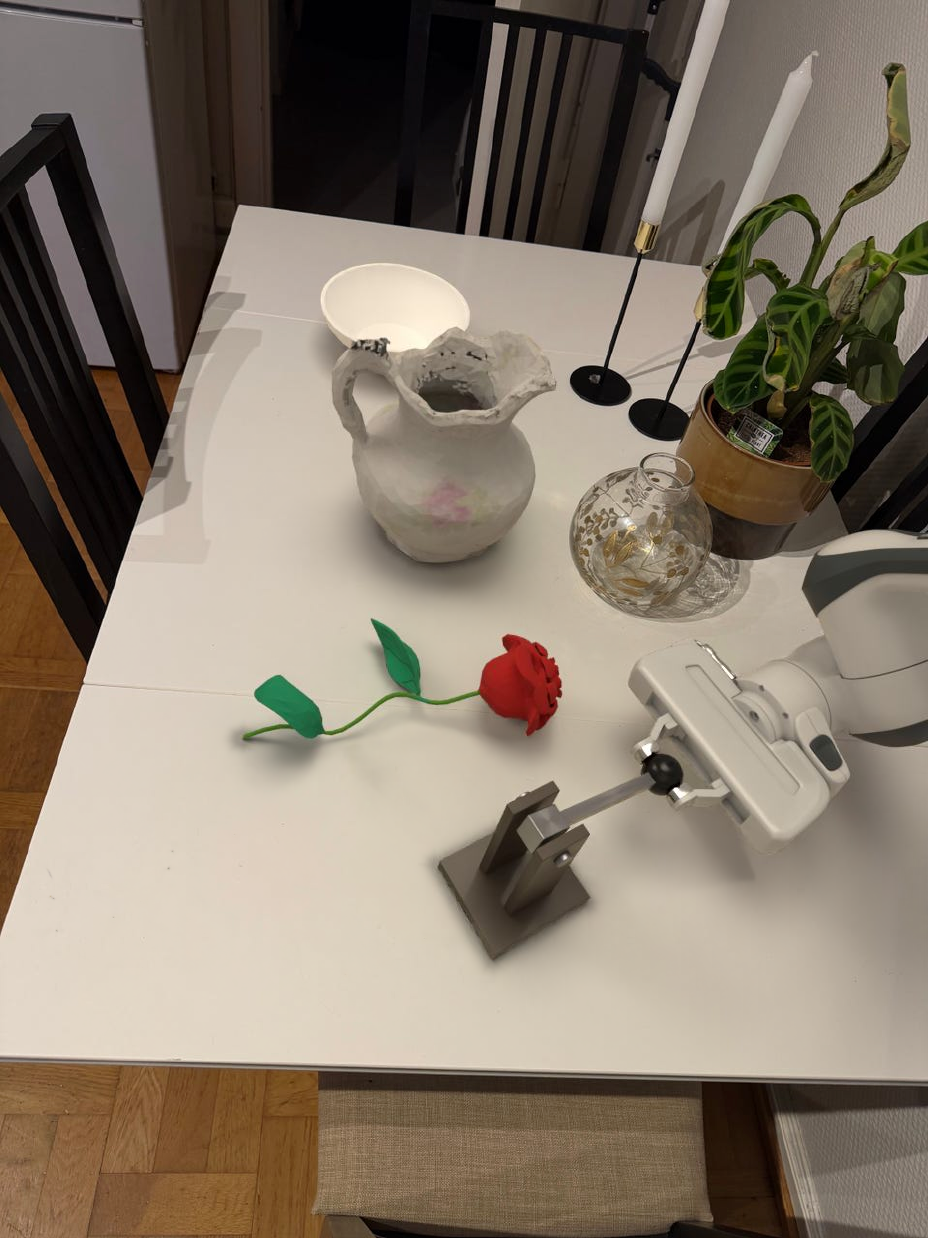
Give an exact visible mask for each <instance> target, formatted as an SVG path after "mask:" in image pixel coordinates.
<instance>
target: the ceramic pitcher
mask: <svg viewBox="0 0 928 1238" xmlns="http://www.w3.org/2000/svg"><path fill="white" fill-rule="evenodd" d="M358 340H359V341H358ZM358 340H357V341H356V342H354V341H352V344H351V347H350V348H348V349H346V350H345V351H344V352H343V353H342V354H341V355H340V356H339V357H338V358H337V360H336V362H335V364H334V367H333V370H332V372H331V373H332V375H331V398H332V404H333V407H334V409H335V411H336V413H337V415H338V417H339V420H340V422H341V425H342V427H343V429H345V430H346V431H347V432H348V433H349V434H350V438H351V439H352V446H351V447H352V453H351V460H352V464H353V467H354V472H355V476H356V483H357V487H358V492H359V495H360V498H361V500H362V502H363V505H364V506H365V508H366V510H367V512H368V513H369V514H370V515H371V516H372V517H373V519H374V520H375V521H376V522H377V524H378V525H379V526H380V527H381V528H382V529H383V530H384V532H385V538H386V539H387V541H389V543H391V544H392V545H393V546H395V547H396V548H397V549H398V550H399V551H401V552H402V553H404V554H405V555H406V556H407V557H409V558H410V559H411V560H413V561H414V562H421V563H422V562H423V563H449V562H456V561H462V560H468V559H471V558H477V557H479V556H480V555H481V554H483V553H484V552H485V551H486V550H488V549H490V548H491V546H492V544H494V543H495V542H497V541H498V540H500V538H502V537H504V536H505V535H506V534H507V533H509V532H510V531H511V530H512V529H513V528H514V527H515V525H516V524H517V523H518V521H519V520H520V518H521V517H522V515H523V514H524V512H525V511H526V508H527V507H528V505H529V502H530V500H531V497H532V494H533V491H534V487H535V484H536V483H535V482H536V476H537V475H536V463H535V460H534V456H533V453H532V448H531V445H530V444H529V442H528V440H527V438H526V436H525V434H524V432H522V430H521V429H520V428H519V427H518V426H517V425H516V424H515V423H514V422H513V420H514V418H515V417H516V415H517V414H518V413H519V412H520V411H521V410H522V409H523V408H524V407H525V406H526V405H527V404H528V403H529V402H531V401H532V400H533V399H536V397H538V396H540V395H542V394H545V393H548V392H553V391H557V390H556V389H557V380H556V379H555V378H554V376H553V375H552V373H553V372H552V371H551V364H550V363H551V362H550V360H549V358H548V356H547V354H546V353H545V352H544V351H543V349H542V348H541V347H540V346H539V345H538V344H537V342H536V341H535V340H534V339H533V338H532V337H531V335H530V334H528V333H524V332H521V331H517V330H508V329H507V330H502V331H501V330H500V331H499V332H497V333H495V334H494V335H492V336H489V337H486V338H481V337H479V336H476V335H473V334H470V333H468V332H467V331H466V332H465V331H463V330H462V329H460V328H458V327H453V328H450V329H448V330H446V331H445V332H444V333H443V334H441V335H440V336H438V337H437V338H435V339H434V340H433V341H432V342H431V343H430V344H429V345H428V347H427V348H425V349H417V348H414V349H409V350H406V351H403V352H400V353H398V354H397V355H396V356H395V357H394V358H393V359H391V357H390V355H389V354H388V352H387V350H386V349H387V344H389V345H390V341H389V340H388V339H387V338H381V337H380V339H365V340H361V339H358ZM364 372H369V373H372V374H373V373H374V374H377V375H381V376H384V378H385V379H386V380H387V381H388V382H389V384H390V385H391V386H392V388H393V389H394V390H395V391H396V392H397V394H398V400H396V401H394V402H392V403H390V404H387V405H385V406H384V407H382V408H381V409H380V410H378V411H377V412H376V413H375V414H374V415H373V416H372V417H371V418H370V419H369V420H368V421H367V423H365V420H364V416H363V413H362V411H361V409H360V407H359V405H358V403H357V402H356V399H355V397H354V395H353V394H354V387H355V383H356V378H357V376H359V374H362V373H364Z"/></svg>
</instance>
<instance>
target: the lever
mask: <svg viewBox="0 0 928 1238" xmlns="http://www.w3.org/2000/svg"><path fill="white" fill-rule="evenodd" d="M684 776H685V775H684V769H683V766H682V765H681V763H680V762H679V760H678V759H677V758H676V757H674V756H672V755H670V754H668V753H657V754H655V755H652V756H651V757H649V758H648V759H647V760H646V761H645V762H644V764H643V765H641V769H640V775H639V776H636V777H634V778H632V779H629V780H627V781H626V782H623V783H620V784H619V785H617V786H614V787H612V788H610V789H608V790H605V791H603V792H601V793H598V794H596V795H594V796H592V797H589V798H587V799H585V800H583V801H581V802H578V803H576V804H573V805H571V806H570V807H567V808H564V809H563V810H561V811H560V810H559V808H558V806H557V805H556V804H555V803H553V804H552V805H550V806H548V807H546V808H543V809H541V810H539V811H536V812H534V813H532V814H530V815H528V816H527V817H526V819H525V820H524V821H523V822H522V824H521V825H520V826H519V828H518V829H517V830H516V831H517V833H518V834H519V836H520V837H521V839H522V840H523V842H524V843H525V845H526V847H527V848H528V850H529V851H530V853H531V854H533V853H534V852H535V850H536V849H537V848H539V847H541V846H543V845H545V844H546V843H548V842H550V841H552V840H554V839H555V838H557V837H559V836H561V835H563V834H564V833H566V832H568V831H569V830H570V828H571V826H573V825H575V824H578V823H579V822H582V821H584V820H586V819H588V818H590V817H593V816H595V815H597V814H599V813H602V812H603V811H606V810H608V809H610V808H612V807H614V806H616V805H618V804H621V803H623V802H625V801H627V800H629V799H631V798H634V797H635V796H638V795H640V794H642V793H644V792H646V791H648V792H650V793H652V794H653V795H655V796H660V797H666V796H667V795H668V793H669V792H670V791H671V790H672V789H674V788H676V787H679V786H680V785H681V784H683V783H684V782H683V781H684V778H685V777H684Z"/></svg>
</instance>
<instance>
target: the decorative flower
mask: <svg viewBox="0 0 928 1238" xmlns="http://www.w3.org/2000/svg"><path fill="white" fill-rule="evenodd" d="M370 622H371V624H372V626H373V628H374V630H375V633H376V634H377V637H378V639H379V641H380V643H381V647H382V649H383V652H384V656H385V663H386V668H387V671H388V674H389V675H390V677H391V679H393V681H395V682H396V683H397V684H398V685H400V686H402V687H403V688H405V689H406V690H407V691H408V692H404V691H397V692H392V693H389V694H387V695H385V696H384V697H382V698H380V699H379V700H377V701H376V702H375V703H374V704H373V705H371V706H370V707H369V708H368V709H366V711H364V712H363V713H362V714H360V715H359V716H357V718H355V719H353V720H352V721H351V722H349V723H347V724H345V725H343V726H342V727H340V728H336V729H333V730H325V728H324V725H323V716H322V713H321V710H320V707H318V705H317V704H316V703H315V702H314V701H313V700H312V699H311V698H310V697H308V696H307V694H305V693H304V692H303V691H301V690H300V689H299V688H297V687H296V686H295V685H293V684H292V683H291V682H290V681H289V680H287V678H286V677H284V676H283V675H281V674H275V675H274V676H272V677H269V678H268V679H266V680H265V681H264V682H263V683H262V684H260V685H259V686H258V687H257V688H256V689H254V692H253V697H254V698H255V699H256V701H257V702H258V703H260V704H261V705H263V706H265V707H266V708H267V709H269V710H270V711H272V712H274V713H275V714H276V715H278V716H279V717H280V718H282V719H283V720H284V721H285V722H286V723H278V724H273V725H269V726H264V727H262V728H259V729H255V730H253V731H249V732H247V733H245V734H243V735H242V740H245V739H249V738H251V737H254V736H257V735H260V734H264V733H267V732H272V731H276V730H277V731H278V730H286V729H287V730H289V729H290V730H294V731H295V732H296V733H298V735H300V736H301V737H302V738H305V739H311V740H312V739H316V738H317V737H318V736H319V735H320V736H321V735H325V736H335V735H338V734H342V733H344V732H345V731H347V730H349V729H351V728H352V727H354V726H355V725H357V724H358V723H361V722H362V721H363V720H364V719H365V718H366V717H367V716H369V715H371V713H372V712H374V711H375V710H377V708H378V707H380V706H381V705H383V704H384V703H386V702H387V701H389V700H392V699H395V698H409V699H412V700H416V701H418V702H422V703H424V704H428V705H432V706H442V705H450V704H452V703H456V702H460V701H462V700H466V699H469V698H473V697H477V696H479V697H481V699H482V700H483V701H484V702H485V704H487V706H488V707H489V708H490V709H491V710H492V711H493V713H494V714H495V715H497V716H499V717H502V718H503V719H515V720H517V719H518V720H521V721H525V722H526V724H527V727H526V730H525V736H526V737H527V738H528V737H530V736H532V735H533V734H534V733H535V732H537V731H540V730H541V729H542V728H544V727H545V726H546V725H547V723H548V722H549V720H550V719H551V718H552V717H553V716H554V715H555V713H556V712H557V710H558V708H559V703H558V699H557V698H559V699H561V698H562V697H563V690H562V689H561V688H562V686H563V682H562V679H561V678H560V676H559V675H560V671H559V670H560V669H559V668H560V667H559V665H558V664H556V658H555V656H553V657H549V653H548V650H547V648H545V647H544V646H543V645H542V643H541V644H540V643H539V642H537V641H533V642H531V641H530V640H529V639H527V638H525V637H523V636H519V635H516V634H511V633H507V634H505V635H503V636H502V637H501V641H502V646H503V648H504V649H505V651H506V652H505V653H502V654H500V655H498V656H496V657H493V658H491V659H490V660H489V661H488V662H486V663H485V665H484V667H483V669H482V670H481V677H480V682H479V687H478V689H477V690H475V691H471V692H467V693H465V694H462V695H458V696H455V697H452V698H448V699H441V700H440V699H439V700H438V699H436V700H435V699H428V698H424V697H423V696H422V695H421V693H422V689H421V666H420V659H419V658H418V655H417V654H416V652H415V651H414V650H413V648H412V647H411V646H410V645H408V644H407V643H406V642H405V641H403V640H402V639H401V637H400V636H399V635H398V634H397V633H396V631H394V630H393V629H392V628H391V627H389V626H388V625H386V624H385V623H383V622H380V621H379V620H377V619H375V618H372V617H370ZM548 657H549V658H548Z"/></svg>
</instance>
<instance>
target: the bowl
mask: <svg viewBox="0 0 928 1238" xmlns="http://www.w3.org/2000/svg"><path fill="white" fill-rule="evenodd" d="M319 303H320V307H321V313H322V315H323V318H324V321H325V322H326V324H327V326H328V328H329V329H330V331H331V332H332V333H333V334H334V336H335V337H336V338H337V339H338V340H339V341H340V343H342V344H343V345H344V346H345V347H347V348H348V349H349V348H350V347H351V344H352V341H354V342H356V341H357V340H358V339H361V340H365V339H380V337H381V338H387V339H388V340H389V341H390V345H389V344H387V349H386V350H387V352H388V354H389V355H390V357H391V359H393V358H394V357H395V356H396V355H397V354H398V353H400V352H403V351H406V350H409V349H414V348H417V349H425V348H427V347H428V345H429V344H430V343H431V342H432V341H433V340H434V339H435V338H437V337H438V336H440V335H441V334H443V333H444V332H445V331H446V330H448V329H450V328H453V327H458V328H460V329H462V330H463V331H465V332H466V333H467V331H468V328H469V326H470V322H471V309H470V307H469V304H468V302H467V300H466V299H465V298H464V296H463V295H462V293H461V292H460V291H459V290H458V289H457V288H456V287H455V286H454V285H452V284H451V283H450V282H448V281H447V280H445V279H444V278H442V277H440V276H438V275H436V274H434V273H432V272H429V271H427V270H424V269H421V268H418V267H414V266H410V265H406V264H399V263H391V262H390V263H389V262H388V263H385V262H379V263H378V262H375V263H366V264H360V265H355V266H352V267H349V268H346V269H343V270H342V271H340V272H338V273H336V274H335V275H333V276H332V277H330V279H329V280H328V281H327V282H326V283H324V286H323V288H322V290H321V292H320V300H319ZM358 341H359V340H358Z"/></svg>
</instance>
